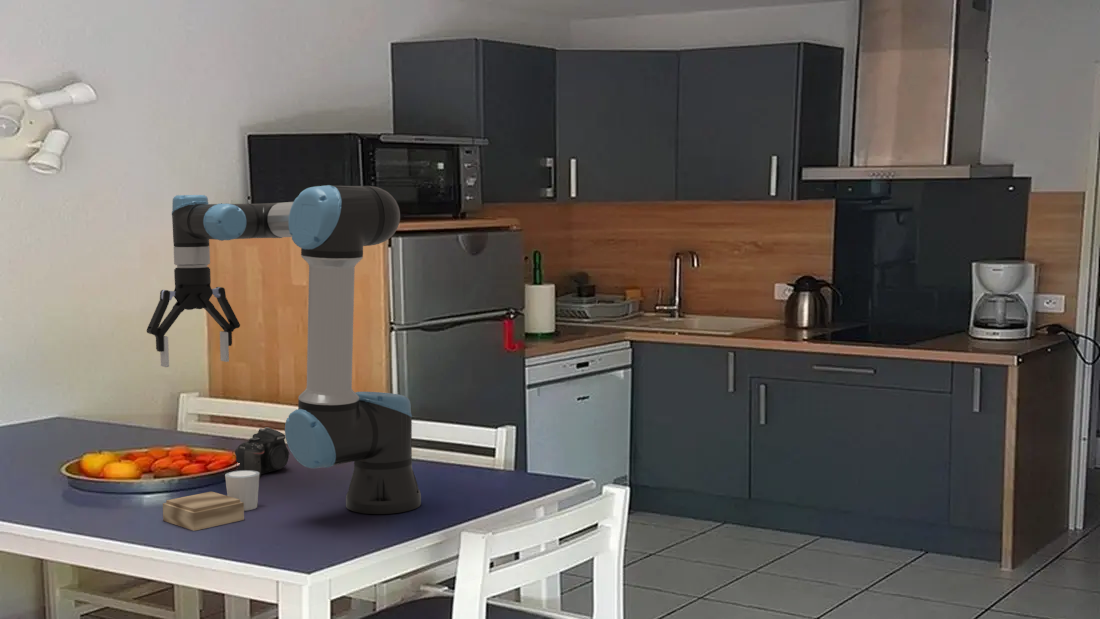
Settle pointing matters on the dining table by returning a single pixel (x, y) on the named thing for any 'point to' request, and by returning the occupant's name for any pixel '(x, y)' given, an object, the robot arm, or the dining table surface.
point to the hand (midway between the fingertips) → (195, 364)
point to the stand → (203, 510)
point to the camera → (263, 452)
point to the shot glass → (243, 487)
